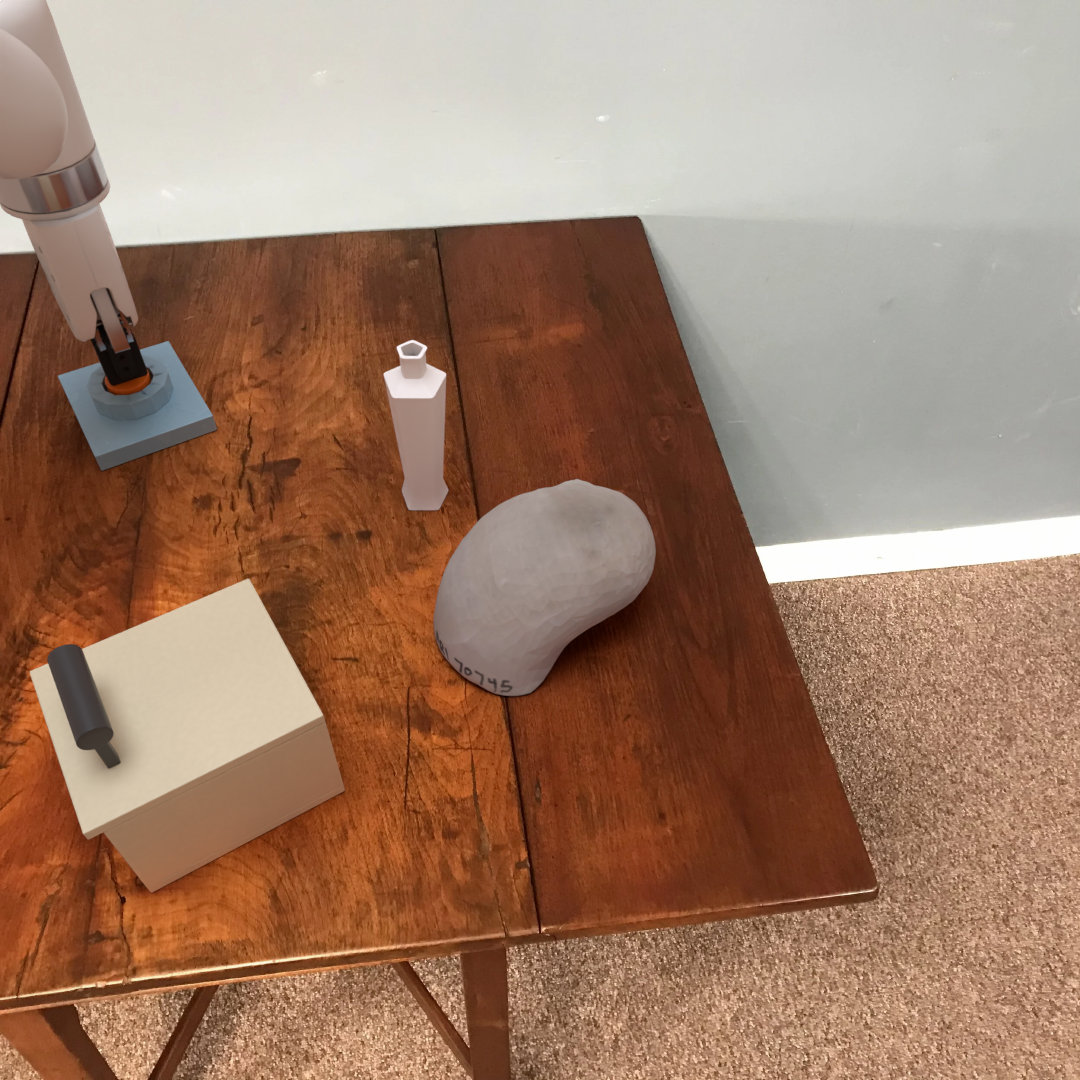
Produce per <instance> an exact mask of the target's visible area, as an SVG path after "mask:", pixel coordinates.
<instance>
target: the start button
mask: <svg viewBox="0 0 1080 1080" xmlns="http://www.w3.org/2000/svg"><path fill="white" fill-rule="evenodd" d="M147 371H148V370H147ZM151 381H152V380H151V378H150V375H149V372H148V373H147V375H146V376H143V377H140V378H137V379H133V380H130V381H127V382H124V383H121V384H118V385H115V386H113V385H111V384H110V383H109V381H108V379H107V377H105V384H106V386H107V389H108V391H109V393H111V394H114V395H131V394H134V393H137V392H140V391H142V390H143V389H144V388H145V387H147V386H148V385H149V384H150V383H151Z"/></svg>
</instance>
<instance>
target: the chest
mask: <svg viewBox="0 0 1080 1080" xmlns="http://www.w3.org/2000/svg"><path fill="white" fill-rule="evenodd" d="M345 791H346V789H345V785H344V782H343V778H342V775H341V771H340V767H339V764H338V760H337V756H336V754H335V750H334V747H333V742H332V740H331V735H330V733H329V729H328V725H327V722H326V721H325V722H324V723H322V724H320V725H318V726H316V727H314V728H312V729H310V730H308V731H306V732H304V733H302V734H300V735H298V736H296V737H294V738H292V739H290V740H288V741H286V742H284V743H282V744H280V745H278V746H276V747H274V748H272V749H270V750H268V751H266V752H264V753H262V754H260V755H258V756H256V757H254V758H252V759H250V760H248V761H246V762H244V763H242V764H240V765H238V766H236V767H233V768H231V769H229V770H227V771H225V772H223V773H221V774H219V775H217V776H215V777H213V778H211V779H209V780H207V781H205V782H203V783H201V784H199V785H197V786H195V787H193V788H191V789H189V790H187V791H185V792H183V793H181V794H179V795H177V796H175V797H173V798H171V799H169V800H167V801H165V802H163V803H161V804H159V805H157V806H155V807H153V808H151V809H149V810H147V811H145V812H143V813H141V814H139V815H137V816H135V817H133V818H131V819H129V820H127V821H125V822H123V823H121V824H119V825H117V826H115V827H113V828H111V829H109V830H107V831H105V832H103V833H102V834H104V836H105V837H106V838H107V839H108V840H109V842H110V843H111V845H112V846H113V847H114V848H115V849H116V850H117V852H118V853H119V854H120V856H121V857H122V859H124V861H125V862H126V863H127V865H128V866H129V867H130V869H131V870H132V871H133V872H134V874H135V875H136V876H137V877H138V879H139V880H140V881H141V882H142V884H143V885H144V886H145V888H146V889H147V890H148V891H149V893H152V894H153V893H155V892H156V891H158V890H159V889H162V888H164V887H165V886H168V885H170V884H171V883H173V882H175V881H177V880H179V879H181V878H182V877H185V876H186V875H188V874H190V873H192V872H194V871H196V870H198V869H200V868H202V867H203V866H205V865H208V864H209V863H211V862H213V861H215V860H217V859H219V858H221V857H222V856H224V855H226V854H229V853H230V852H232V851H234V850H236V849H238V848H239V847H241V846H243V845H244V844H247V843H249V842H250V841H253V840H254V839H256V838H258V837H260V836H262V835H264V834H266V833H268V832H270V831H272V830H273V829H275V828H277V827H279V826H281V825H284V824H285V823H286V822H289V821H290V820H293V819H294V818H296V817H298V816H300V815H302V814H304V813H305V812H308V811H309V810H311V809H313V808H315V807H317V806H319V805H321V804H323V803H325V802H327V801H329V800H330V799H332V798H334V797H336V796H338V795H339V794H341V793H343V792H345Z"/></svg>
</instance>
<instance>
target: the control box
mask: <svg viewBox="0 0 1080 1080" xmlns="http://www.w3.org/2000/svg"><path fill="white" fill-rule="evenodd" d="M139 350H140V352H141V355H142V358H143V360H144V363H145V366H146V368H147V370H148V372H149V375H150V378H151V380H152V381H151V383H150V384H149V385H148V386H147V387H145V388H144V389H143V390H142V391H140V392H137V393H134V394H131V395H114V394H111V393H109V391H108V389H107V386H106V384H105V377H106V375H105V373H104V371H103V368H102V366H101V363H100V362H96V363H93V364H91V365H87V366H84V367H81V368H76V369H75V370H71V371H68V372H65V373H62V374H61V373H60V374H59V375H57V378H58V380H59V382H60V385H61V387H62V389H63V391H64V393H65V396H66V397H67V399H68V402H69V404H70V406H71V408H72V410H73V413H74V415H75V418H76V419H77V421H78V424H79V426H80V428H81V430H82V432H83V434H84V437H85V439H86V441H87V443H88V445H89V447H90V450H91V452H92V454H93V456H94V457H95V458H94V459H95V461H96V463H97V465H98V467H99V469H100V471H101V472H103V471H105V470H109V469H111V468H114V467H117V466H120V465H122V464H125V463H128V462H131V461H133V460H137V459H139V458H143V457H145V456H148V455H150V454H154V453H156V452H159V451H161V450H165V449H167V448H171V447H173V446H176V445H178V444H181V443H184V442H187V441H190V440H193V439H195V438H199V437H201V436H204V435H207V434H210V433H212V432H215V431H217V430H218V428H217V424H216V421H215V418H214V415H213V413H212V412H211V410H210V408H209V407H208V405H207V403H206V402H205V399H203V396H202V395H201V393H200V392H199V390H198V388H197V386H196V385H195V383H194V381H193V380H192V378H191V377H190V375H189V373H188V371H187V369H186V368H185V366H184V364H183V362H182V361H181V359H180V357H179V356H178V353H176V351H175V350H174V347H173V346H172V344H171V343H170V341H169V340H166V341H164V342H163V341H162V342H160V343H157V344H154V345H151V346H148V347H145V348H142V349H139Z"/></svg>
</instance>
